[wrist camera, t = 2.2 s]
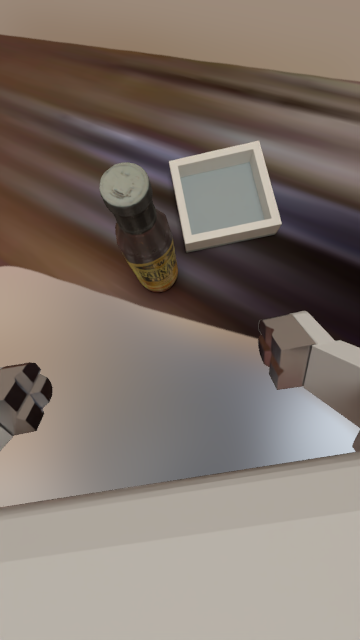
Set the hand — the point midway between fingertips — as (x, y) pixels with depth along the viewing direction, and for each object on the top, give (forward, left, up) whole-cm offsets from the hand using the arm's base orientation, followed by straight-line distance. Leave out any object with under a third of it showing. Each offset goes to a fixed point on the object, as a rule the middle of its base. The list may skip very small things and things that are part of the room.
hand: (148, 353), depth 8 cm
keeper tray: (-10, -23, -27) cm, 37 cm away
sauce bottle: (+2, -13, -27) cm, 31 cm away
